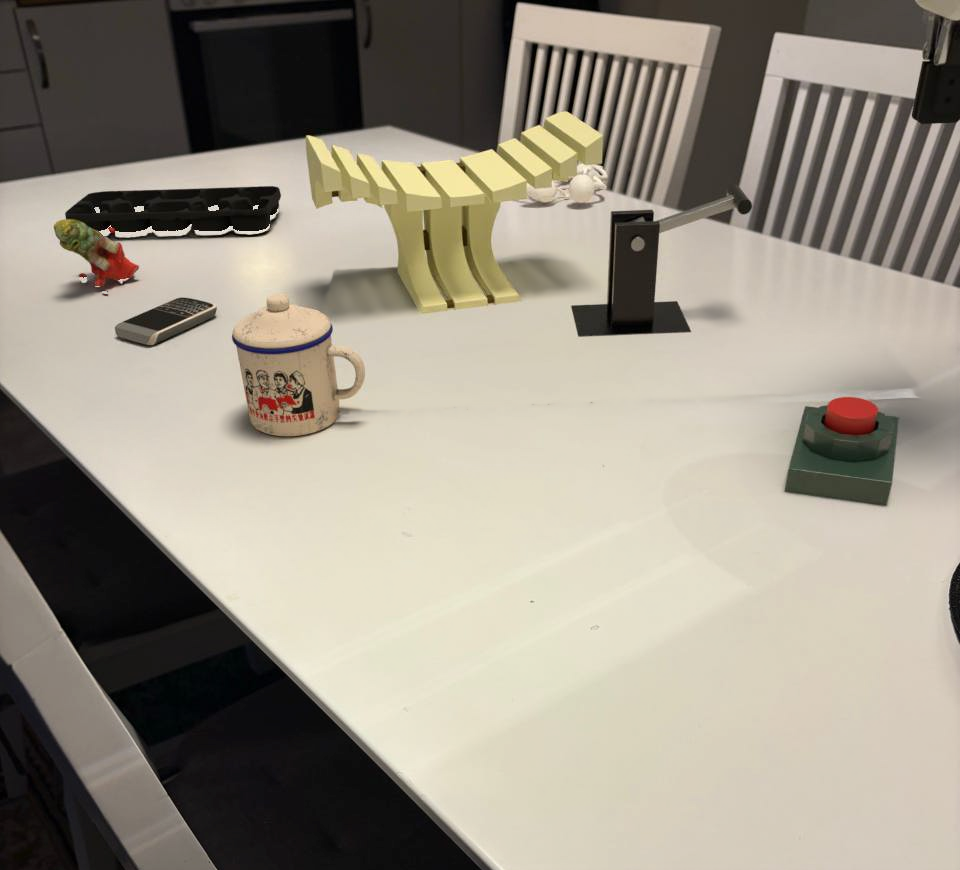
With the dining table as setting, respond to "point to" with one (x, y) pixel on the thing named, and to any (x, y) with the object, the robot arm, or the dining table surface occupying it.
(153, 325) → the cell phone
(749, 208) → the lever handle
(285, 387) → the teacup with lid
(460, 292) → the slatted curved stool
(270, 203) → the egg carton
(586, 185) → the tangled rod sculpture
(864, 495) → the button block
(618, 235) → the lever bracket
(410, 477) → the dining table surface
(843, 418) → the button
